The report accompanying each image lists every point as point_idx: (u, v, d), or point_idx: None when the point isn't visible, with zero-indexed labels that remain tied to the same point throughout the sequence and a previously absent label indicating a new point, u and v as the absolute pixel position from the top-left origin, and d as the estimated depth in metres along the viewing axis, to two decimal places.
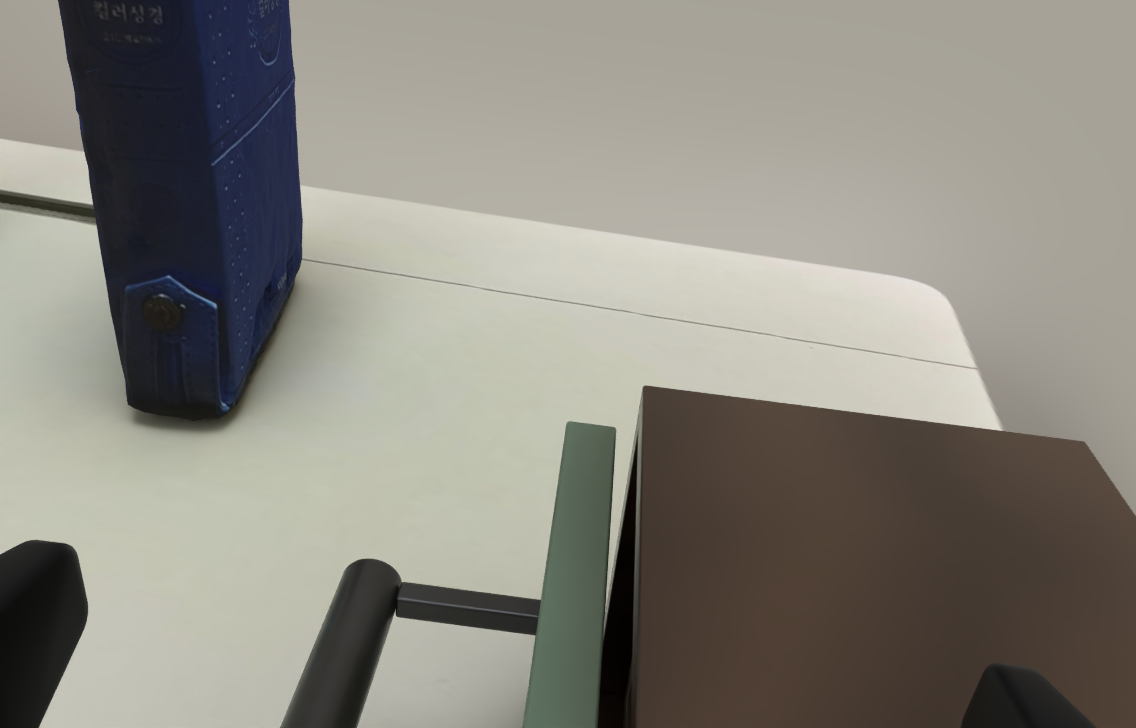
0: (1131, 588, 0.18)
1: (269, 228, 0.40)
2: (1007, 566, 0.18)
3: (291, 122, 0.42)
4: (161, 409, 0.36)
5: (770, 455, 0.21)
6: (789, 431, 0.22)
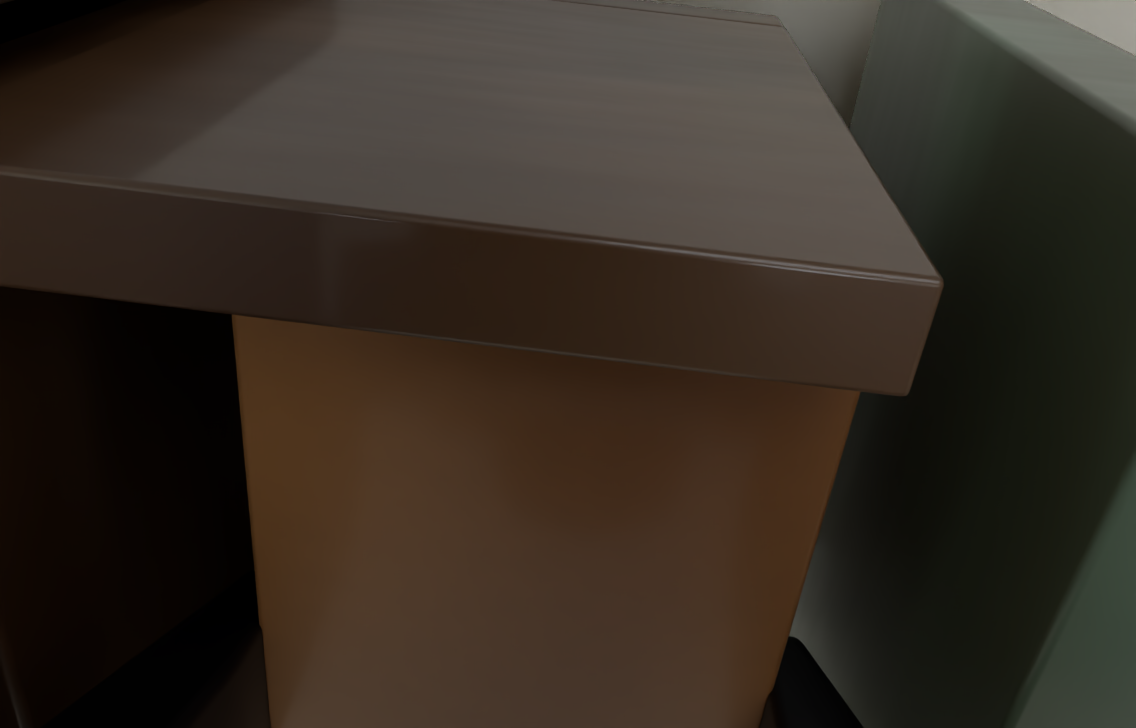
0: None
1: None
2: None
3: None
4: None
5: None
6: None
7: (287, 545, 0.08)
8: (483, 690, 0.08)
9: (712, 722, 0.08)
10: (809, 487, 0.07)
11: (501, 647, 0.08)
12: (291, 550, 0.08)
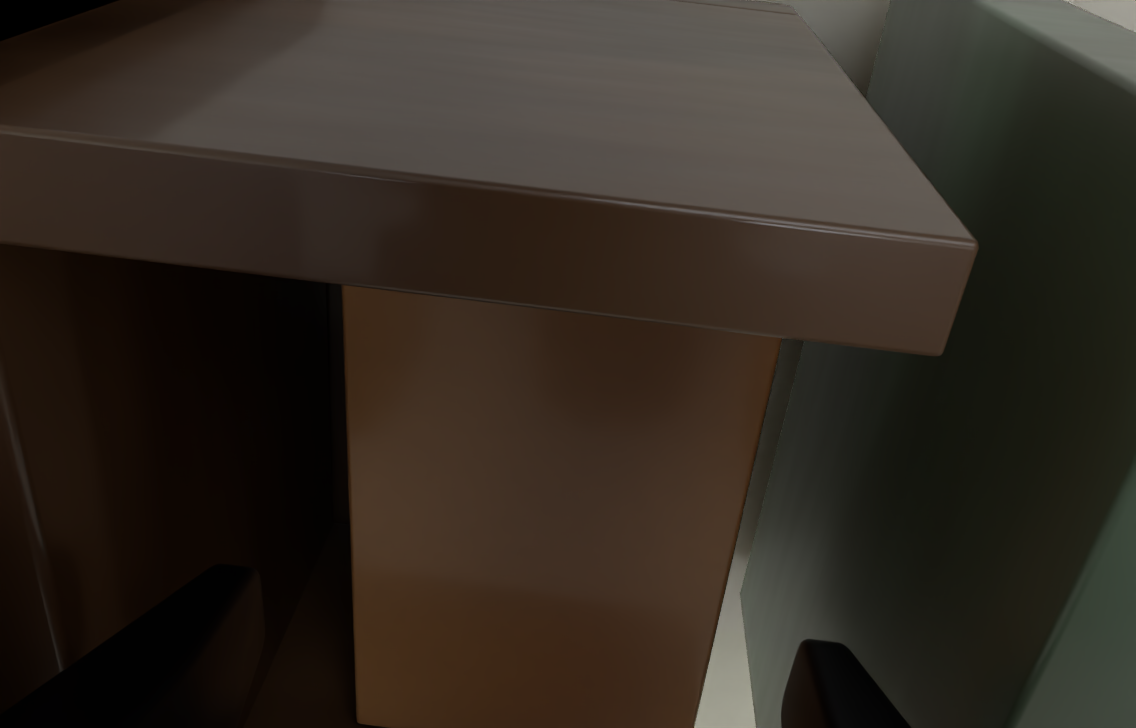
0: None
1: None
2: None
3: None
4: None
5: None
6: None
7: (372, 373, 0.10)
8: (520, 498, 0.11)
9: (700, 520, 0.11)
10: None
11: (535, 457, 0.11)
12: (375, 377, 0.10)
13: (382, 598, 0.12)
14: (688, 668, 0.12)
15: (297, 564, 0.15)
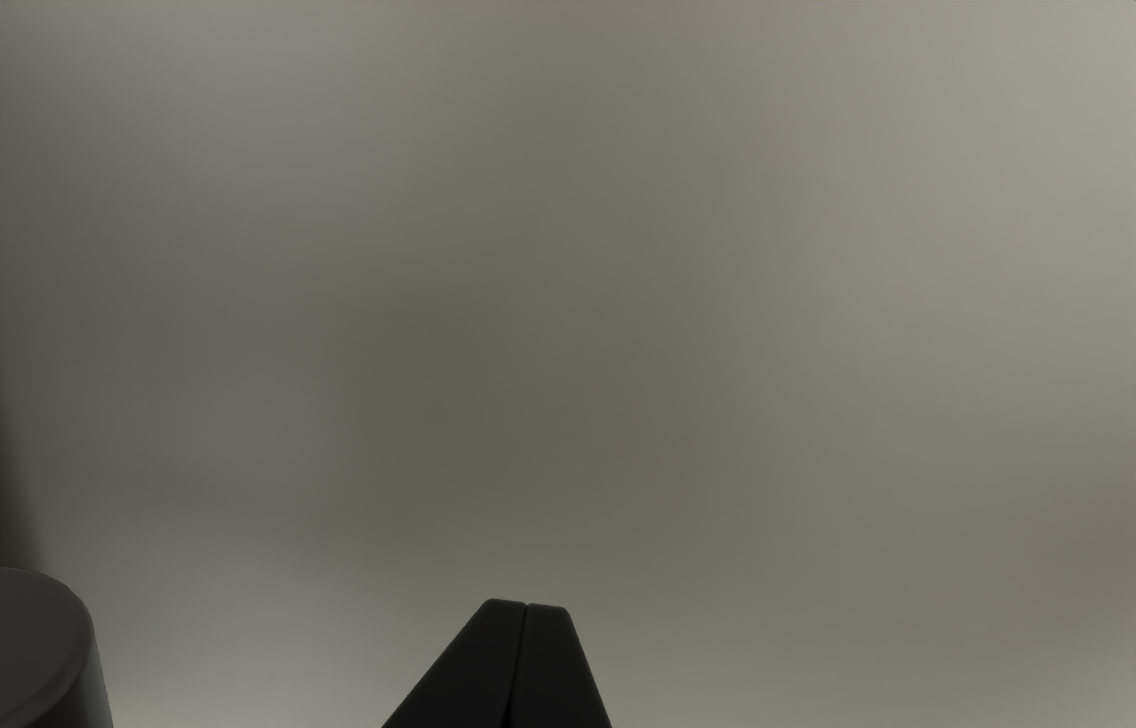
0: None
1: None
2: None
3: None
4: None
5: None
6: None
7: None
8: None
9: None
10: None
11: None
12: None
13: None
14: None
15: None
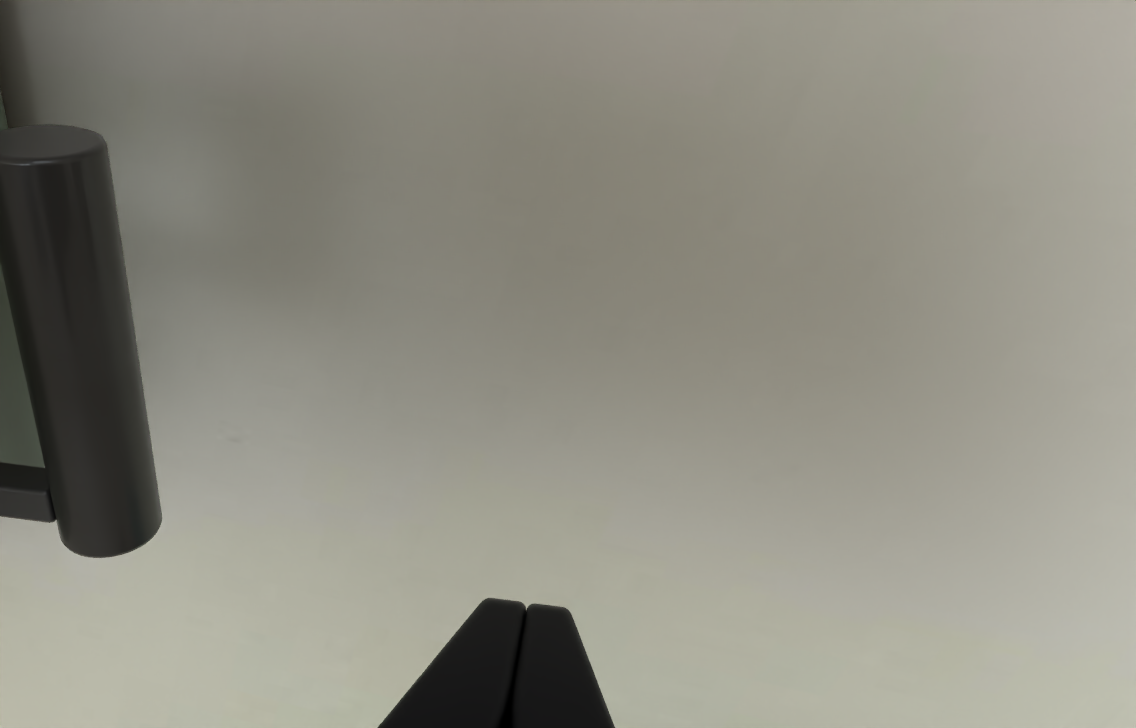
0: None
1: None
2: None
3: None
4: None
5: None
6: None
7: None
8: None
9: None
10: None
11: None
12: None
13: None
14: None
15: None
